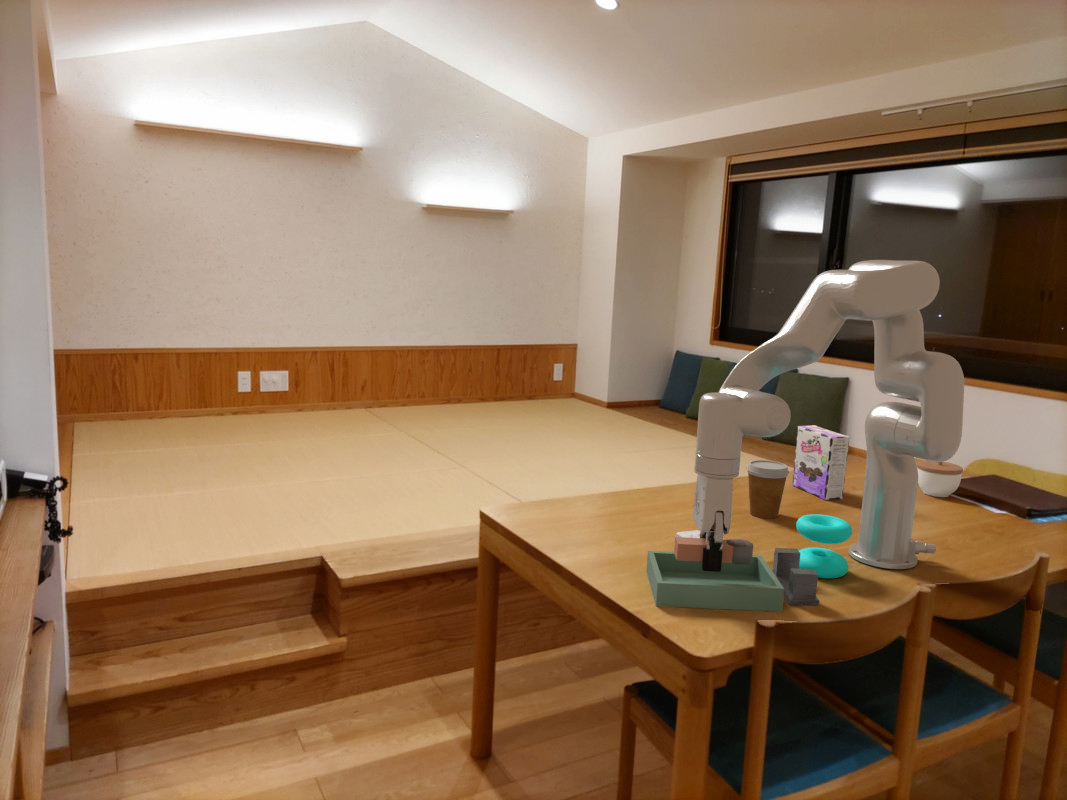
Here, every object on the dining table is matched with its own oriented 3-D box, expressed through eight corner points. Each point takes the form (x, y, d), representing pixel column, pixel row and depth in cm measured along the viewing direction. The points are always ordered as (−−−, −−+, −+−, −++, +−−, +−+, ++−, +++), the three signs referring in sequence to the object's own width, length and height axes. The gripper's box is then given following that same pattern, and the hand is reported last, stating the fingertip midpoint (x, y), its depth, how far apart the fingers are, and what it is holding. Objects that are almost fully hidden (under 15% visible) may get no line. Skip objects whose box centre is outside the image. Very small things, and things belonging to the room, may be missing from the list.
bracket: (769, 575, 146) (771, 547, 145) (796, 576, 146) (798, 548, 145) (789, 604, 133) (791, 574, 132) (818, 606, 133) (821, 575, 132)
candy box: (791, 485, 209) (796, 425, 206) (809, 484, 210) (815, 424, 207) (824, 500, 196) (830, 436, 193) (844, 499, 197) (850, 435, 195)
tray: (759, 576, 145) (761, 555, 144) (782, 611, 130) (784, 588, 130) (646, 571, 146) (647, 550, 145) (656, 606, 131) (657, 582, 130)
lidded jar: (917, 497, 201) (921, 461, 200) (910, 486, 211) (914, 452, 210) (963, 502, 198) (968, 466, 197) (954, 490, 208) (958, 456, 207)
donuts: (862, 521, 148) (838, 533, 141) (856, 571, 149) (833, 585, 142) (811, 509, 154) (787, 519, 148) (807, 557, 156) (782, 569, 149)
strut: (677, 561, 135) (678, 544, 134) (673, 551, 139) (674, 535, 139) (754, 565, 135) (756, 548, 134) (748, 555, 139) (749, 539, 139)
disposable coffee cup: (780, 509, 187) (784, 460, 185) (789, 522, 178) (793, 470, 176) (739, 506, 188) (743, 458, 186) (746, 519, 179) (750, 468, 177)
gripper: (687, 452, 142) (680, 548, 146) (703, 476, 126) (695, 583, 129) (728, 454, 142) (720, 550, 145) (750, 478, 126) (741, 586, 129)
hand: (709, 565), depth 137 cm, fingers closed on strut, 3 cm apart
